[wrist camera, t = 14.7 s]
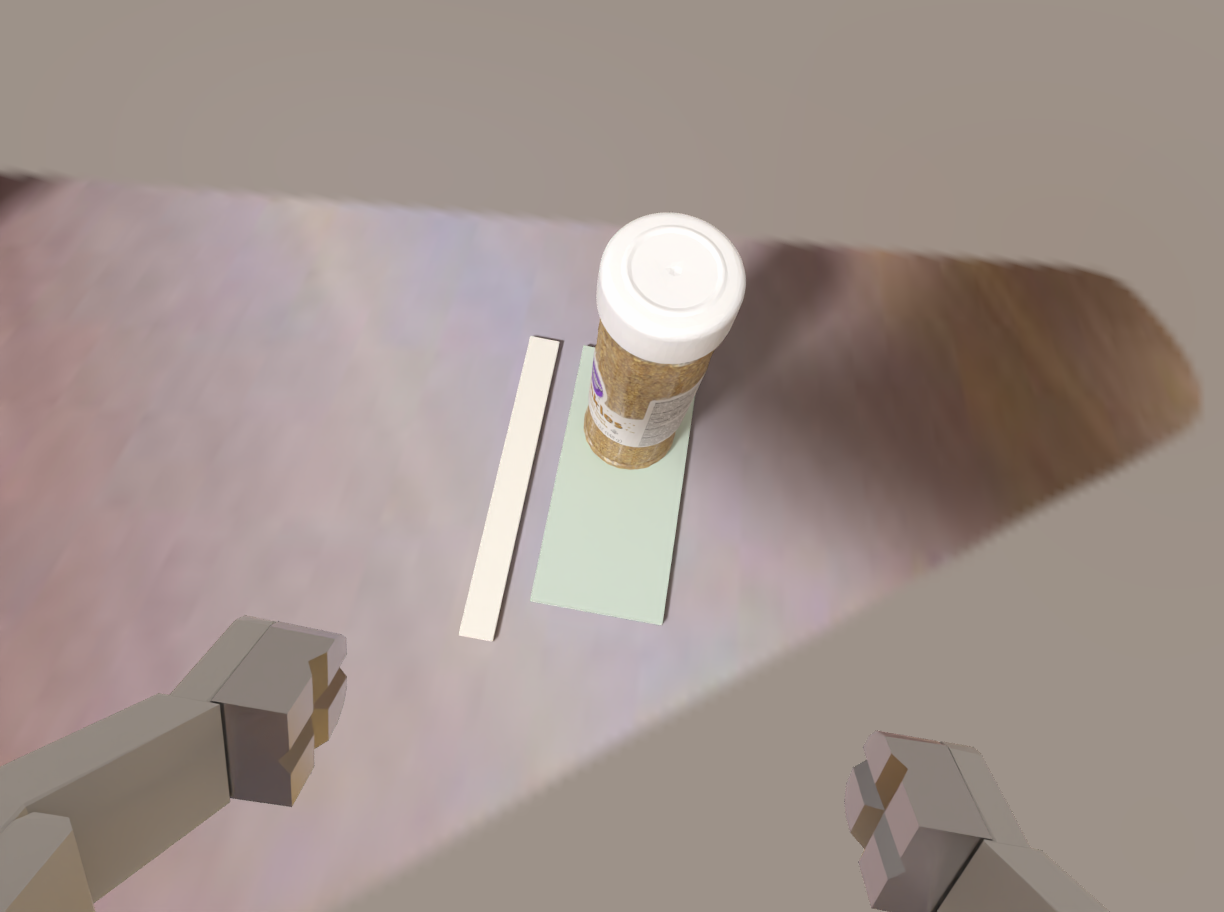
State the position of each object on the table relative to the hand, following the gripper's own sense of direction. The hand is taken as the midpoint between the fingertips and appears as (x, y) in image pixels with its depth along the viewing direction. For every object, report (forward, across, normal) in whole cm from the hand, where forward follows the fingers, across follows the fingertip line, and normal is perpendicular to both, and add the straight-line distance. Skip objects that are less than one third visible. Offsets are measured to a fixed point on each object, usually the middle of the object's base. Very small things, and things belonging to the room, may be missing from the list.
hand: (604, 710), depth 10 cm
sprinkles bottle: (+23, 0, +5) cm, 23 cm away
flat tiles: (+20, +1, +8) cm, 22 cm away
